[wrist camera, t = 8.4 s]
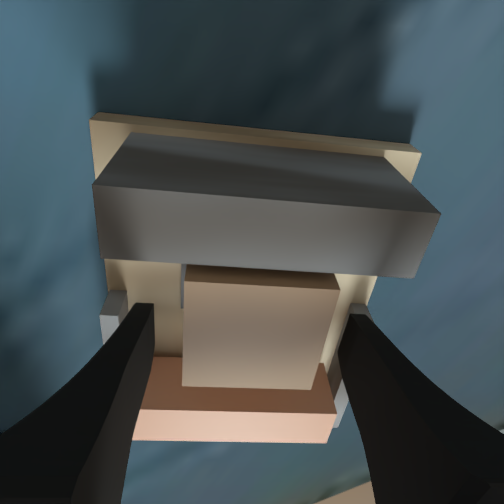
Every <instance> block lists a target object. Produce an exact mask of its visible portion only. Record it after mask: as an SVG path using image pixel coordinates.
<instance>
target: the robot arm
mask: <svg viewBox="0 0 504 504" xmlns="http://www.w3.org/2000/svg"><path fill="white" fill-rule="evenodd" d="M154 348H155V323H154V303H137V302H136V303H135V304H134V305H133V306H132V308H131V309H130V311H129V312H128V314H127V315H126V317H125V318H124V319H123V321H122V322H121V323H120V325H119V326H118V328H117V329H116V330H115V331H114V333H113V334H112V335H111V336H110V338H109V339H108V340H107V341H106V343H105V344H104V345H103V346H102V347H101V348H100V350H99V351H98V352H97V353H96V354H95V355H94V356H93V357H92V358H91V359H90V361H89V362H88V363H87V364H86V365H85V366H84V367H83V368H82V369H81V370H80V371H79V372H78V373H77V374H76V375H75V376H74V377H73V378H72V379H71V380H70V381H68V382H67V383H66V384H65V385H64V386H63V387H62V388H61V389H60V390H58V391H57V392H56V393H55V394H54V395H53V396H51V397H50V398H49V399H48V400H47V401H46V402H44V403H43V404H42V405H41V406H39V407H38V408H37V409H35V410H34V411H33V412H31V413H30V414H29V415H27V416H26V417H25V418H23V419H22V420H21V421H19V422H18V423H16V424H15V425H14V426H12V427H11V428H10V429H8V430H7V431H5V432H4V433H2V434H1V435H0V504H121V498H122V492H123V486H124V480H125V475H126V469H127V464H128V458H129V453H130V447H131V442H132V438H133V433H134V429H135V426H136V422H137V419H138V415H139V412H140V408H141V405H142V401H143V397H144V394H145V390H146V387H147V383H148V380H149V376H150V372H151V367H152V361H153V355H154ZM337 354H338V360H339V365H340V370H341V375H342V379H343V382H344V386H345V389H346V392H347V395H348V398H349V401H350V404H351V407H352V410H353V413H354V416H355V419H356V422H357V425H358V428H359V431H360V435H361V438H362V442H363V445H364V449H365V454H366V458H367V463H368V467H369V472H370V477H371V482H372V487H373V492H374V497H375V503H376V504H504V434H502V433H501V432H499V431H498V430H496V429H495V428H493V427H492V426H490V425H489V424H487V423H486V422H484V421H483V420H481V419H480V418H478V417H477V416H475V415H474V414H473V413H471V412H470V411H468V410H467V409H466V408H464V407H463V406H461V405H460V404H459V403H457V402H456V401H455V400H454V399H452V398H451V397H450V396H449V395H447V394H446V393H445V392H444V391H442V390H441V389H440V388H439V387H438V386H436V385H435V384H434V383H433V382H432V381H431V380H429V379H428V378H427V377H426V376H425V375H424V374H423V373H422V372H421V371H420V370H419V369H418V368H417V367H415V366H414V365H413V364H412V363H411V362H410V361H409V360H408V359H407V358H406V357H405V356H404V355H403V354H402V353H401V352H400V351H399V350H398V348H397V347H396V346H395V345H394V344H393V343H392V342H391V341H390V340H389V339H388V338H387V337H386V336H385V335H384V333H383V332H382V331H381V330H380V329H379V328H378V327H377V326H376V325H375V324H374V323H373V321H372V320H371V319H370V318H369V317H368V316H367V315H366V314H351V313H350V315H349V318H348V321H347V324H346V327H345V330H344V333H343V336H342V339H341V342H340V345H339V348H338V351H337Z"/></svg>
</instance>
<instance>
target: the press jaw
mask: <svg viewBox="0 0 504 504" xmlns="http://www.w3.org/2000/svg"><path fill="white" fill-rule="evenodd" d="M182 362H183V358H179V357H153V361H152V367H151V372H150V376H149V380H148V383H147V387H146V390H145V394H144V397H143V401H142V405H141V408H140V412H139V415H138V419H137V422H136V426H135V429H134V433H133V438H132V440H155V441H219V442H282V443H327V440H328V437H329V435H330V432H331V429H332V427H333V424H334V422H335V419H336V416H337V411H336V407H335V404H334V400H333V396H332V392H331V388H330V385H329V381H328V377H327V373H326V370H325V366H324V363H319V364H318V368H317V371H316V374H315V378H314V381H313V384H312V388H311V390H298V389H262V388H227V387H192V386H182Z"/></svg>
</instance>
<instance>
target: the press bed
mask: <svg viewBox="0 0 504 504" xmlns="http://www.w3.org/2000/svg"><path fill="white" fill-rule="evenodd" d="M89 124H90V133H91V142H92V151H93V160H94V169H95V178H96V180H95V181H94V183H93V184H92V189H93V198H94V207H95V215H96V224H97V232H98V241H99V249H100V258H101V259H104V260H105V269H106V278H107V287H108V296H107V298H106V300H105V303H104V305H103V308H102V310H101V313H100V323H101V330H102V338H103V345H104V344H105V343H106V341H107V340H108V339H109V338H110V336H111V335H112V334H113V333H114V331H115V330H116V329H117V328H118V326H119V325H120V323H121V322H122V321H123V319H124V318H125V317H126V315H127V314H128V312H129V311H130V309H131V308H132V306H133V305H134V304H135V303H136V302H137V303H154V323H155V348H154V355H153V357H179V358H183V313H184V279H185V273H186V266H187V264H194V265H210V266H226V267H241V268H257V269H273V270H288V271H304V272H320V273H334V274H335V277H336V279H337V282H338V284H339V287H340V290H341V291H340V294H339V297H338V301H337V304H336V308H335V311H334V314H333V318H332V321H331V324H330V328H329V331H328V334H327V338H326V341H325V344H324V348H323V351H322V354H321V358H320V361H319V363H324V366H325V370H326V373H327V377H328V381H329V385H330V388H331V392H332V396H333V400H334V404H335V407H336V411H337V416H336V419H335V422H334V424H333V427H332V428H338V426H339V423H340V421H341V418H342V416H343V413H344V410H345V408H346V405H347V403H348V400H349V398H348V395H347V392H346V389H345V386H344V382H343V379H342V375H341V370H340V365H339V360H338V354H337V351H338V348H339V345H340V342H341V339H342V336H343V333H344V330H345V327H346V324H347V321H348V318H349V315H350V313H351V314H366V315H367V316H368V317H369V318H370V319H371V320H372V321H373V319H372V317H371V315H370V313H369V310H368V308H367V304H368V301H369V298H370V295H371V293H372V290H373V287H374V284H375V281H376V279H377V276H382V277H398V278H414V277H415V274H416V272H417V270H418V267H419V265H420V263H421V260H422V258H423V256H424V253H425V251H426V248H427V246H428V244H429V241H430V239H431V237H432V234H433V232H434V230H435V227H436V225H437V223H438V220H439V218H440V215H441V213H440V212H439V211H438V210H437V209H436V208H435V207H434V206H433V205H432V204H431V203H430V202H429V201H428V200H427V199H426V198H425V197H424V196H423V195H422V194H421V193H420V192H419V191H418V190H417V189H416V188H415V187H414V186H413V185H412V184H411V181H412V179H413V176H414V173H415V170H416V168H417V165H418V162H419V159H420V156H421V154H422V153H421V152H420V151H418V150H417V149H416V148H414V147H413V146H412V145H411V144H405V143H395V142H386V141H376V140H366V139H356V138H347V137H337V136H327V135H317V134H308V133H298V132H288V131H278V130H269V129H259V128H249V127H239V126H230V125H220V124H210V123H200V122H191V121H181V120H171V119H161V118H152V117H142V116H132V115H122V114H113V113H103V112H98V113H96V114H95V115H94V116H93V117H92V118H91V119H89ZM373 323H374V321H373Z"/></svg>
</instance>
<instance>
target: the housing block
mask: <svg viewBox="0 0 504 504" xmlns="http://www.w3.org/2000/svg"><path fill="white" fill-rule="evenodd" d="M340 291H341V290H340V287H339V284H338V282H337V279H336V277H335V274H334V273H320V272H304V271H288V270H273V269H257V268H241V267H226V266H210V265H194V264H187V266H186V273H185V279H184V313H183V362H182V386H192V387H227V388H262V389H298V390H311V388H312V384H313V381H314V378H315V374H316V371H317V368H318V364H319V361H320V358H321V354H322V351H323V348H324V344H325V341H326V338H327V334H328V331H329V328H330V324H331V321H332V318H333V314H334V311H335V308H336V304H337V301H338V297H339V294H340Z"/></svg>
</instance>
